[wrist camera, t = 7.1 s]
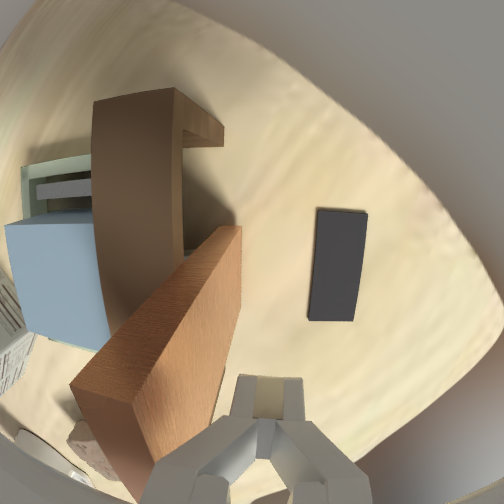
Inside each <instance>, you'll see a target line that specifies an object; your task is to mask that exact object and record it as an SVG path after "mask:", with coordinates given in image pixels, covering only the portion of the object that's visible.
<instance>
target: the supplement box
mask: <svg viewBox="0 0 504 504" xmlns="http://www.w3.org/2000/svg"><path fill="white" fill-rule="evenodd" d="M37 336H38V334H36V333H33V332H30V331H28V330H27V327H26V324H25V321H24V317H23V314H22V311H21V307H20V303H19V300H18V296H17V292H16V288H15V286H14V285H13V283H12V282H11V281H10V279H9V278H8V277H7V275H6V274H5V272H4V271H3V270H2V268H1V267H0V397H1V396H2V395H3V394H4V393H5V392H6V391H7V390H8V389H10V388H11V387H12V386H13V385H14V384H15V383H16V382H17V381H18V380H19V379H20V378H21V377H22V376H23V375H24V373H25V370H26V367H27V364H28V361H29V358H30V355H31V352H32V349H33V347H34V344H35V341H36V338H37Z"/></svg>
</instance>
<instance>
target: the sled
mask: <svg viewBox="0 0 504 504" xmlns="http://www.w3.org/2000/svg"><path fill="white" fill-rule="evenodd" d="M36 188H37V200H43V199H54V198H66V197H80V196H92V193H91V178H90V179H81V180H72V181H63V182H55V183H48V184H41V185H36ZM241 252H242V226H227V225H221V226H220V227H219V228H218V229H217V230H215V231H214V232H213V233H212V234H211V235H210V236H209V237H208V238H207V239H206V240H205V241H204V242H203V243H202V244H201V245H200V246H199V247H198V248H197V249H196V250H191V249H184V262H183V263H182V264H181V265H180V266H179V267H178V268H177V269H176V270H175V271H174V272H173V273H172V274H171V275H170V276H169V277H168V278H167V279H166V280H165V281H164V282H163V283H162V284H161V285H160V286H159V287H158V288H157V289H156V290H155V291H154V292H153V294H152V295H151V296H150V297H149V298H148V299H147V300H146V301H145V302H144V303H143V304H142V305H141V306H140V307H139V308H138V309H137V310H136V311H135V312H134V313H133V314H132V316H131V317H130V318H129V319H128V320H127V321H126V322H125V323H124V324H123V325H122V326H121V327H120V328H119V329H118V330H117V332H116V333H115V334H114V335H113V336H112V337H111V338H110V339H109V340H108V341H107V342H106V344H105V345H104V346H103V347H102V348H101V349H100V350H99V351H98V352H97V353H96V355H95V356H94V357H93V358H92V359H91V360H90V361H89V362H88V363H87V365H86V366H85V367H84V368H83V369H82V370H81V371H80V373H79V374H78V375H77V376H76V377H75V378H74V379H73V381H72V382H71V383H70V384H69V385H70V388H71V390H72V392H73V395H74V397H75V399H76V401H77V404H78V406H79V408H80V410H81V412H82V414H83V416H84V418H85V420H86V422H87V424H88V426H89V428H90V430H91V432H92V434H93V435H94V437H95V439H96V441H97V443H98V444H99V446H100V448H101V450H102V451H103V453H104V455H105V456H106V458H107V460H108V461H109V463H110V464H111V466H112V468H113V469H114V471H115V472H116V474H117V475H118V477H119V478H120V480H121V481H122V483H123V484H124V485H125V487H126V488H127V490H128V491H129V492H130V494H131V495H132V497H133V498H134V499H135V501H136V502H137V503H139V501H140V499H141V496H142V494H143V491H144V489H145V487H146V484H147V482H148V480H149V477H150V475H151V472H152V470H153V468H154V465H155V463H156V461H158V460H159V459H161V458H163V457H164V456H166V455H167V454H169V453H170V452H172V451H173V450H175V449H176V448H178V447H180V446H181V445H182V444H184V443H185V442H187V441H188V440H190V439H191V438H193V437H194V436H196V435H197V434H198V433H200V432H201V431H203V430H204V429H205V428H207V427H208V425H209V421H210V418H211V414H212V410H213V407H214V403H215V400H216V396H217V392H218V389H219V385H220V381H221V378H222V374H223V370H224V367H225V363H226V360H227V356H228V352H229V349H230V345H231V341H232V338H233V334H234V330H235V327H236V323H237V319H238V316H239V312H240V308H241Z"/></svg>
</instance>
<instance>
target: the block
mask: <svg viewBox="0 0 504 504" xmlns="http://www.w3.org/2000/svg"><path fill="white" fill-rule="evenodd" d="M4 227H5V235H6V242H7V248H8V254H9V260H10V265H11V270H12V275H13V279H14V284H15V288H16V292H17V296H18V300H19V303H20V307H21V311H22V314H23V317H24V321H25V324H26V327H27V330H28V331H30V332H33V333H36V334H39V335H42V336H45V337H49V338H52V339H55V340H59V341H62V342H66V343H69V344H73V345H77V346H80V347H84V348H88V349H92V350H96V351H99V350H100V349H101V348H102V347H103V346H104V345H105V344H106V342H107V341H108V340H109V339H110V338H111V335H110V330H109V326H108V321H107V316H106V311H105V306H104V301H103V295H102V290H101V284H100V277H99V270H98V263H97V255H96V246H95V237H94V226H93V212H92V208H75V209H60V210H56V211H52V212H49V213H45V214H41V215H38V216H34V217H31V218H27V219H24V220H20V221H17V222H14V223H11V224H7V225H4Z"/></svg>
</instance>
